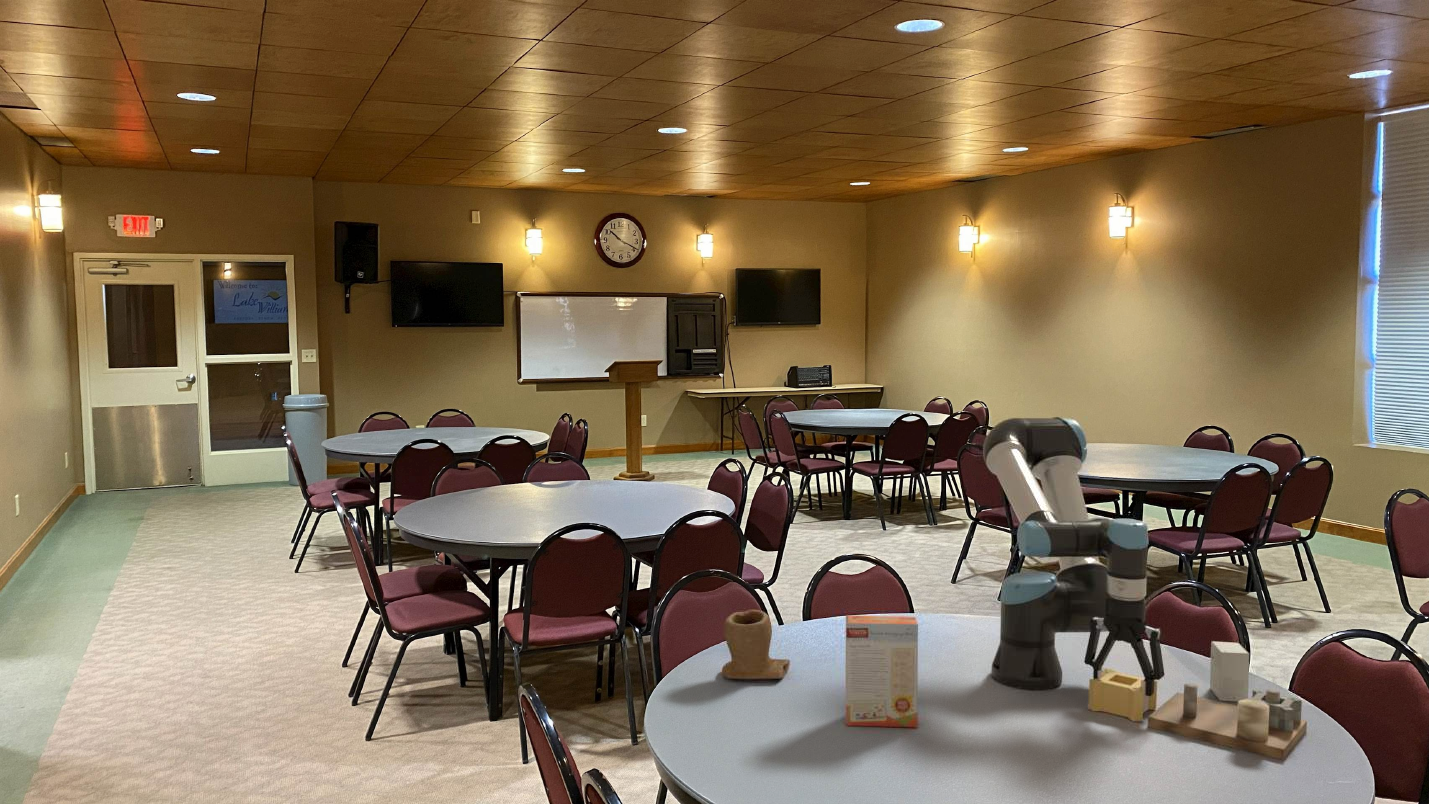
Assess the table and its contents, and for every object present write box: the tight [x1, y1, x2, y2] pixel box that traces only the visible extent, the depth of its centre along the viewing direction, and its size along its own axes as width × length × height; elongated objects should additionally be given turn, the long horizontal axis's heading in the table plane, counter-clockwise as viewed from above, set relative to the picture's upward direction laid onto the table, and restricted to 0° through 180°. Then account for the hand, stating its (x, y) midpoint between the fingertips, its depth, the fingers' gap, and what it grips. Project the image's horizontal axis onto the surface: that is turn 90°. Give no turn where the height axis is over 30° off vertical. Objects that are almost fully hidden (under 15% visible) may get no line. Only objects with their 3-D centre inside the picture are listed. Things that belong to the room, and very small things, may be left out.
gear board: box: [1147, 683, 1308, 761], centre depth 204 cm, size 24×18×8 cm
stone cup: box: [721, 609, 791, 680], centre depth 234 cm, size 15×12×15 cm
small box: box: [1209, 640, 1250, 703], centre depth 222 cm, size 8×6×10 cm
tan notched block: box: [1088, 668, 1158, 722], centre depth 215 cm, size 11×11×6 cm
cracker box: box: [845, 615, 919, 728], centre depth 207 cm, size 14×6×21 cm, turn 84°
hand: (1122, 704), depth 215 cm, fingers closed on tan notched block, 8 cm apart
